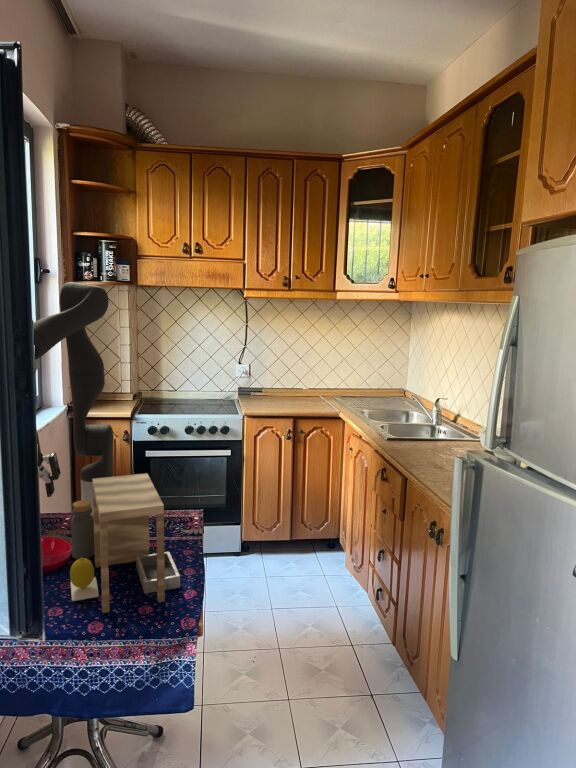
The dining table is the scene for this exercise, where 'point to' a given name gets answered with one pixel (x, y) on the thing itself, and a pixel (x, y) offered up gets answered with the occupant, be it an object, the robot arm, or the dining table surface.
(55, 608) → the dining table surface
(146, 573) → the open rectangular box
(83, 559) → the lemon
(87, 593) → the pad
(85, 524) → the bottle
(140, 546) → the small wooden table
